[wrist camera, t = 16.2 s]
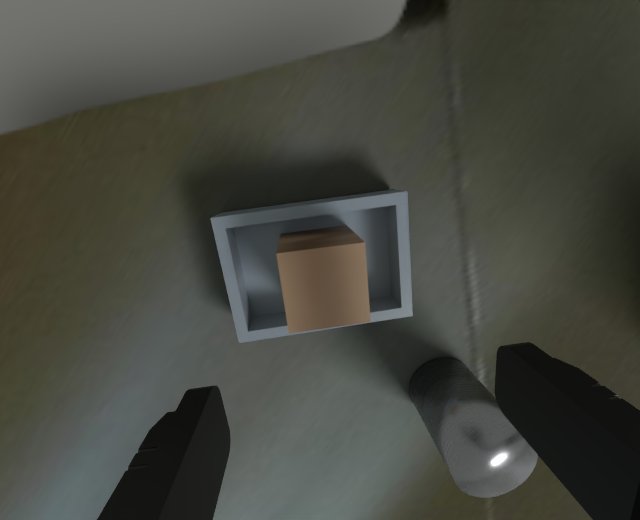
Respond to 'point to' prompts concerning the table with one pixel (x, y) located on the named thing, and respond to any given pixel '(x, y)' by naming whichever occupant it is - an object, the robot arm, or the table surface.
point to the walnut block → (323, 278)
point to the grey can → (470, 429)
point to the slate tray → (269, 222)
